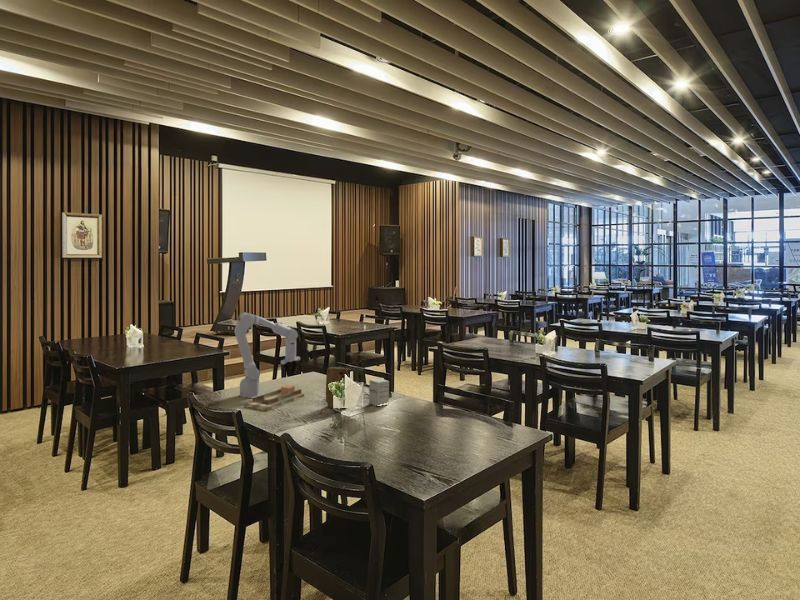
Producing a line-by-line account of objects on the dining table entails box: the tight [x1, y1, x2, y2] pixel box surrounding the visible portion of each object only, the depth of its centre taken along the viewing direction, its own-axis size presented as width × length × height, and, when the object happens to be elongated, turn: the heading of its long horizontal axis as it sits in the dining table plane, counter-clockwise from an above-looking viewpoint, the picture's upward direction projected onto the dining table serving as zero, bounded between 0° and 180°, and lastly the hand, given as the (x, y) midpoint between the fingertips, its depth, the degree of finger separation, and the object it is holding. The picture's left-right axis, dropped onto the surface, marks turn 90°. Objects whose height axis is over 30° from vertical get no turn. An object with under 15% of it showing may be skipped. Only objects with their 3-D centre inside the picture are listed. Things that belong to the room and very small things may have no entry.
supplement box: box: [368, 378, 390, 406], centre depth 258 cm, size 7×7×13 cm
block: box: [325, 366, 349, 410], centre depth 251 cm, size 11×8×20 cm
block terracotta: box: [280, 384, 296, 395], centre depth 266 cm, size 5×5×4 cm
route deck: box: [244, 388, 305, 412], centre depth 258 cm, size 14×29×4 cm, turn 155°
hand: (290, 375), depth 278 cm, fingers open, 3 cm apart
